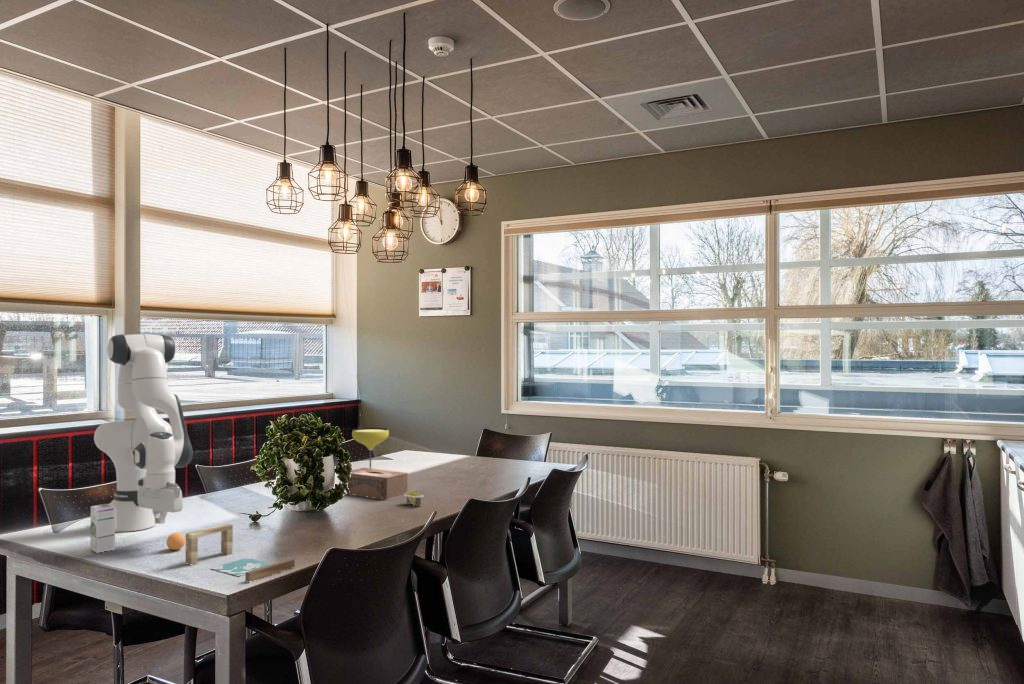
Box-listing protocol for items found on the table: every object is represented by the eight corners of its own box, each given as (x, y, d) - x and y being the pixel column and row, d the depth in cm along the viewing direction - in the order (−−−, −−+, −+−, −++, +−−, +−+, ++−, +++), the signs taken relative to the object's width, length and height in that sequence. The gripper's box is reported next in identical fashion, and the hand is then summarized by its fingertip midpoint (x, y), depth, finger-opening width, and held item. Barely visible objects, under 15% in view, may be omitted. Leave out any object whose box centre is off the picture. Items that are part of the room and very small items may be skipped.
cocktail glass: (393, 481, 350) (394, 430, 350) (358, 484, 341) (358, 432, 341) (381, 475, 366) (381, 427, 366) (347, 478, 357) (347, 428, 357)
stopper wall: (245, 581, 200) (245, 572, 200) (289, 566, 214) (290, 558, 214) (250, 582, 199) (250, 573, 199) (294, 567, 213) (294, 559, 213)
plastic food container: (418, 512, 287) (418, 496, 287) (386, 506, 297) (386, 490, 297) (437, 506, 297) (437, 491, 297) (406, 501, 307) (406, 486, 307)
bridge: (185, 563, 216) (185, 533, 216) (226, 552, 229) (226, 523, 229) (191, 565, 215) (191, 535, 215) (232, 553, 227) (232, 524, 227)
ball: (162, 550, 230) (163, 533, 230) (178, 546, 234) (178, 529, 234) (173, 553, 227) (173, 536, 227) (188, 549, 232) (188, 532, 232)
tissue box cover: (342, 494, 320) (342, 472, 320) (363, 488, 332) (363, 467, 332) (386, 500, 307) (387, 477, 307) (407, 494, 320) (407, 472, 320)
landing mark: (210, 569, 211) (210, 568, 211) (246, 558, 222) (246, 557, 222) (238, 576, 204) (238, 576, 204) (274, 565, 215) (274, 564, 215)
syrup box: (115, 550, 230) (116, 505, 230) (95, 554, 226) (96, 508, 226) (109, 546, 234) (109, 502, 234) (89, 550, 229) (90, 505, 229)
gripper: (188, 482, 233) (187, 524, 232) (151, 477, 243) (151, 518, 243) (170, 485, 227) (169, 528, 227) (133, 480, 238) (133, 521, 237)
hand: (159, 523), depth 235 cm, fingers closed
